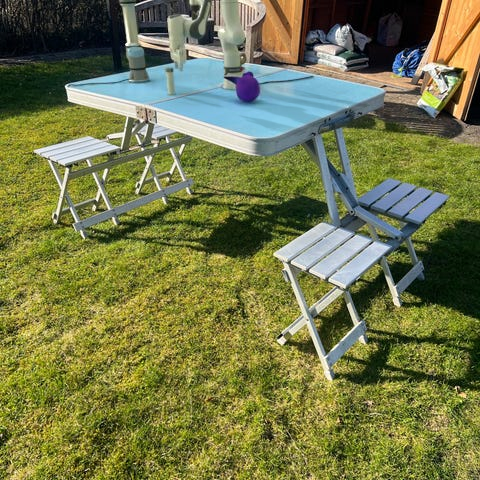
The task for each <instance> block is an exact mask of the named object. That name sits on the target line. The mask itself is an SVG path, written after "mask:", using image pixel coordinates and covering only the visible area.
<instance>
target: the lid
mask: <svg viewBox="0 0 480 480" xmlns="http://www.w3.org/2000/svg"><path fill="white" fill-rule="evenodd" d="M166 72H173V73H174V72H175V71H174V67H173V66H171V67H170V66H169V67H165V73H166Z"/></svg>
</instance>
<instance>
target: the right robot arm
mask: <svg viewBox="0 0 480 480" xmlns="http://www.w3.org/2000/svg"><path fill="white" fill-rule="evenodd" d="M195 1H196V2H197V3H198V4H199V5H200V10H199V11H198V12H199V15H198V18H197V19H196V20H192V19H187V18H185V17H183V16H182V14H180V13H174V14H171V15H169V16H168V20H167V30H168V34H169V38H168V47H169V53H170V59H171V60H172V61H173V64H174V67H175V69H178V70H179V71H180V72H183V71H184V65H185V64H186V52H185V50H184V49H185V47H186V46H185V38H187V39H195V40H202V39H203V38H204V36H205V34H206V31H207V24H208V21H209V17H210V14H211V10H212V7H213V0H195ZM220 9H221V17H222V20H223V22H224V25H223V26H220V28H219V29H218V30H217V37H218V39H219V41H220V45H221V49H222V54H223V60H224V63H223V69H222V71H223V82H222V87H221V88H222V89H224V90H232V91H236V84H234V83H232V82H230V81H229V80H227V79H225V78H224V76H233V77H242V76H243V73H245V72H244V71H245V70H246V67H245V66H243V65H242V66H240V60H241V58H240V54H241V53H240V51H239V49H238V46H239V45H241V44H243V43H244V42H245V40H246V32H245V31H244V29H243V27H242V22H241V18H240V11H239V10H240V9H239V0H220ZM311 78H314V75H308V76H304V77H299V78H294V79H287V80H286V79H285V80H274V81H273V80H271V81H263V82H259V84H260V85H265V84H270V83H271V84H272V83H273V84H274V83H288V82H295V81H300V80H305V79H311Z"/></svg>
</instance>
